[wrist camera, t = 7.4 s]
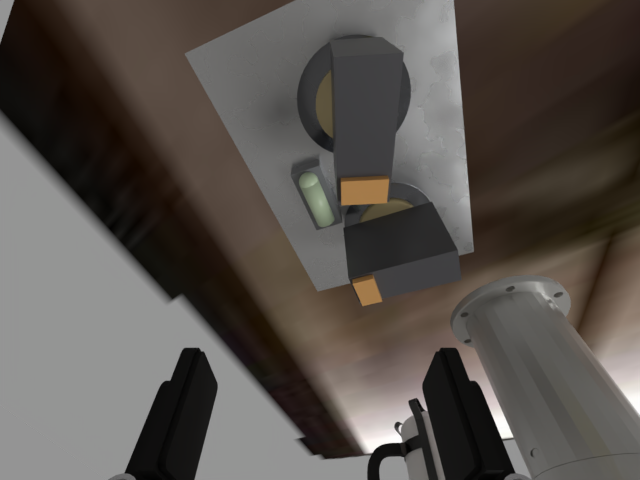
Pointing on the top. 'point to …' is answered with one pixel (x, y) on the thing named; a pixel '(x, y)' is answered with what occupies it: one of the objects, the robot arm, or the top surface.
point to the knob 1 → (361, 116)
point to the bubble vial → (316, 194)
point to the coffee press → (411, 448)
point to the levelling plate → (305, 130)
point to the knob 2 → (399, 251)
